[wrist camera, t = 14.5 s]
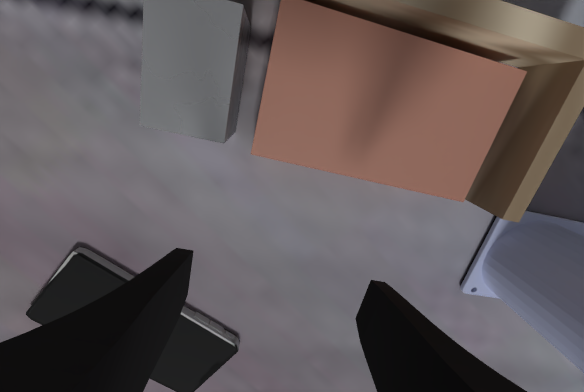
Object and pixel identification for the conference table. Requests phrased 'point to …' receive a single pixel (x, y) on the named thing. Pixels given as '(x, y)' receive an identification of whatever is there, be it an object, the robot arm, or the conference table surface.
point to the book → (379, 102)
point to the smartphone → (182, 343)
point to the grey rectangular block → (193, 66)
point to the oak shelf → (530, 97)
